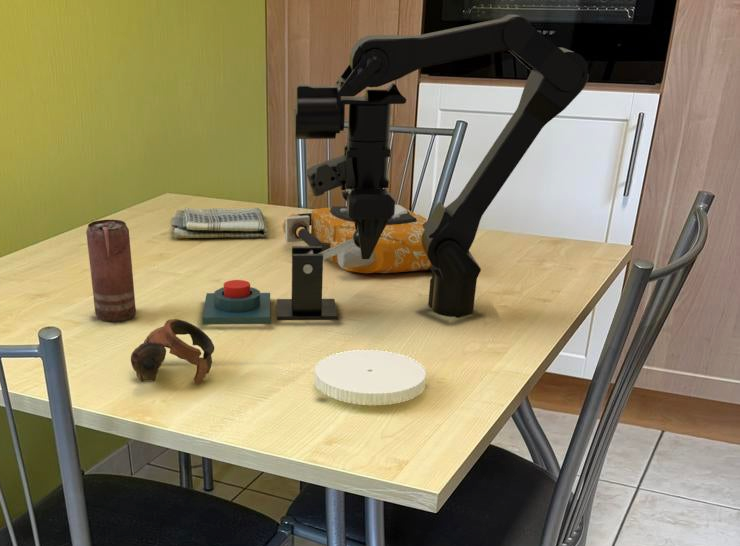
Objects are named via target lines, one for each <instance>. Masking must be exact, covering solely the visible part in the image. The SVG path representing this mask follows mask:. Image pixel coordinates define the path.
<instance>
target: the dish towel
mask: <svg viewBox="0 0 740 546" xmlns="http://www.w3.org/2000/svg"><path fill="white" fill-rule="evenodd" d="M170 226H171V228H172V227H173V228H174V231H173V233H174V236H173V238H174V239H217V238H235V239H236V238H238V239H240V238H241V239H242V238H247V239H248V238H251V239H252V238H253V239H254V238H264V237H267V235H268V234H269V230H268V229H267V221H266V218H265V215H264V213H263V212H262V210H261V208H259V207H251V208H250V207H248V208H199V209H196V208H195V209H194V208H189V207H185V208H184V210H183V209H176V210H175V213H174V217H173V220H172V222H171V223H170Z"/></svg>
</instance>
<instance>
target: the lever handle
mask: <svg viewBox="0 0 740 546" xmlns="http://www.w3.org/2000/svg"><path fill="white" fill-rule="evenodd" d="M355 246H357V247H358V248H360V242H359V234H358V229H356V231H355V232H354V234H353V238H352V239H349V240H347V241H345V242H343V243H340V244H338V245H336V246H334V247H331V248H329V249H327V250H325V251H322V252H320V253H318V254H323V261H325V260H327V259H329V258H330V257H332V256H334V255H337V254H339V253H341V252H343V251H346V250H348V249H350V248H352V247H355ZM304 254H314V252H313V250H311V251H308V252H306V253H304Z"/></svg>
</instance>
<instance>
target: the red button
mask: <svg viewBox="0 0 740 546" xmlns="http://www.w3.org/2000/svg"><path fill="white" fill-rule="evenodd" d="M250 287H251V283H250V282H249V281H248V280H245V279H231V280H228V281H225V282H224V283H223V288H224V296H225V297H229V298H244V297H248V296H250Z"/></svg>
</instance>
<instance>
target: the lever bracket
mask: <svg viewBox="0 0 740 546" xmlns="http://www.w3.org/2000/svg"><path fill="white" fill-rule="evenodd" d="M311 250H313V252H314V254H304V253H306V252H308V251H311ZM320 252H322V246H309V245H291V298H276V321H338V319H339V318H338V311H337V305H336V300H335V298H323V276H324V275H323V273H324V272H323V271H324V260H323V254H318V253H320Z"/></svg>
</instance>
